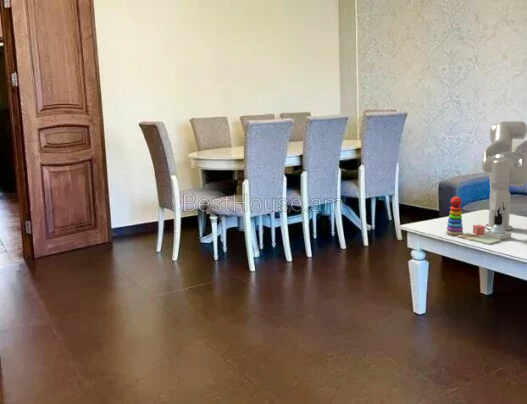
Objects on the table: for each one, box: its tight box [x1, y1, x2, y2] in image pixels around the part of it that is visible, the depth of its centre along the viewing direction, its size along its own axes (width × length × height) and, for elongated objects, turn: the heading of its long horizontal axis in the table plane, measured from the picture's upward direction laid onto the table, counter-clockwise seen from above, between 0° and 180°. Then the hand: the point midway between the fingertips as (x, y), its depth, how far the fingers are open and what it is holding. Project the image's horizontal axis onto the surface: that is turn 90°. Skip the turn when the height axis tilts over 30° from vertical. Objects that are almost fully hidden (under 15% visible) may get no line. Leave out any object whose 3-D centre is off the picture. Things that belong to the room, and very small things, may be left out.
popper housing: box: [483, 229, 512, 241], centre depth 258 cm, size 9×9×3 cm
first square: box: [456, 232, 484, 242], centre depth 259 cm, size 8×8×1 cm
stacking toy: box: [445, 196, 464, 237], centre depth 265 cm, size 8×8×19 cm
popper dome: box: [491, 225, 505, 235], centre depth 257 cm, size 6×6×5 cm
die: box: [472, 224, 486, 236], centre depth 266 cm, size 4×4×4 cm
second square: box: [472, 237, 502, 246], centre depth 252 cm, size 8×8×1 cm
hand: (498, 224), depth 257 cm, fingers closed
